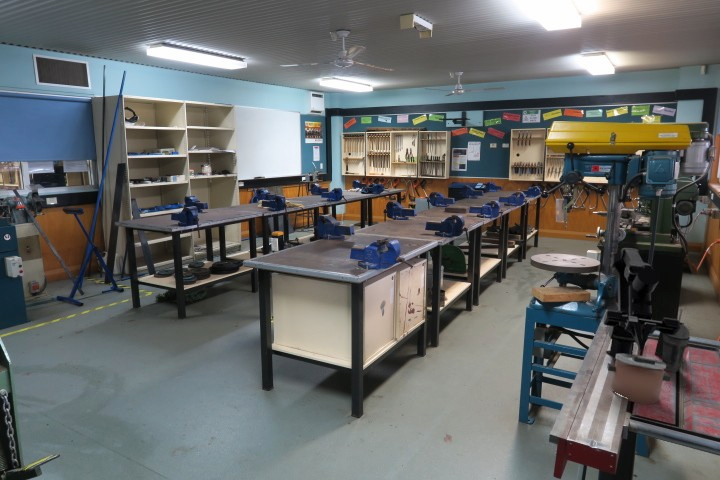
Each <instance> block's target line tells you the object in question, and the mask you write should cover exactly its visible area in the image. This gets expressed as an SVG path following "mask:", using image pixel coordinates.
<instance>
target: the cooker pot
mask: <svg viewBox="0 0 720 480" xmlns="http://www.w3.org/2000/svg"><path fill="white" fill-rule="evenodd" d="M606 367H607V368H606V369H607V371H608V372H613V375H612V381H611V387H612V388H611V390H612V389H613V390H614V391H615V392H616V393H618V394H620V395H622V396H624V397H627V398H628V400H627V401H628V402H633V403H634V404H635V403H636V404H641V405H654V404H657V403H658V402H659V401H660V396H661V390H662V386H663V381H665V382H670V383H671V379H672V376H671V375H670V373H667V372H664V369H650V368H644V367H639V366H634V365H630V364H627V363H624V362H621V361H619V360H617V359H616V360H615V363H607V366H606ZM613 390H612V391H613ZM616 393H615V394H616Z"/></svg>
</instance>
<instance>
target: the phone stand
mask: <svg viewBox="0 0 720 480" xmlns="http://www.w3.org/2000/svg"><path fill="white" fill-rule="evenodd" d="M680 323H681V324H683V325H685V323H684V322H682V321H680ZM658 334H659V335H658V339H657V344H656V347H655V351H654V355H655V356H658V357H661V358H662V353H663V341H664V339H663V334H662V333H661V332H660V331H659V333H658Z"/></svg>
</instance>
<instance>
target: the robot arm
mask: <svg viewBox="0 0 720 480" xmlns="http://www.w3.org/2000/svg"><path fill="white" fill-rule="evenodd" d="M610 268H611V270H612V271H611V272H612V275H613V276H614V278H615V279H616V280H617V308H618V309H617V310H614V309H607V311H605V314H604V316H603V325H604V326H608V336H609V338H610V340H611V341H610V342H611V343H610V348H609V350H606V351H605V353H606V354H608V355H610V356H612V357H613V356H614V358H615V357H616V354H619V353H623V354H633V355H634V353H633V352H634V348H635V343H636V345H637V348H638V350H639V351H643V350H644V348H645V345H646V342H647V341H648V338H649V335H653V334H654V332H656V330H657V329H658V331H659V333H660V332H661V333H662V334H667V335H675V334H676V333H677V331H678V330H679V329H680V322H681V321H680V322H679V321H678V319H677V318H671V317H665V316H663V317H662V319H661V320H654V319H653V313H652V305H653V304H652V303H653V301H652V293H653V292H654V290H655V288H656V287H657V285H658V284H659V281H660V279H661V277H660V274H659V272H658V271H657V270H655V269H653V266H652V265H651V264H649V263H647V262H644V261H643V259H642V258H641V255H640V250H639V249H637V248H631V247H624V248H623V247H622V248H621V250H620V251H618V252H616V253H614V254H613V255H612V257H611V259H610Z"/></svg>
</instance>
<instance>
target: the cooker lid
mask: <svg viewBox="0 0 720 480" xmlns="http://www.w3.org/2000/svg"><path fill="white" fill-rule="evenodd" d="M614 358H615V359H616V360H619V361H621V362H624V363H627V364H630V365H634V366H639V367H644V368H650V369H662V370H665V369H666V364H665V363H664V362H662V360H659V359H655V358H652V357H647V356H643V355H638V354H634V353H633V354H623V353H619V354H616V357H614Z"/></svg>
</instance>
